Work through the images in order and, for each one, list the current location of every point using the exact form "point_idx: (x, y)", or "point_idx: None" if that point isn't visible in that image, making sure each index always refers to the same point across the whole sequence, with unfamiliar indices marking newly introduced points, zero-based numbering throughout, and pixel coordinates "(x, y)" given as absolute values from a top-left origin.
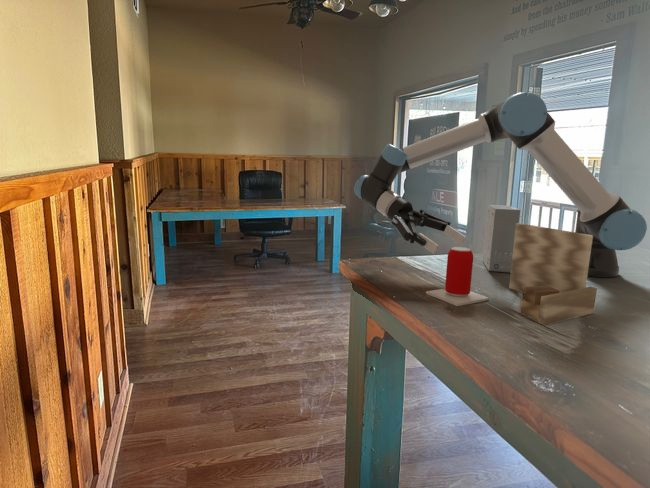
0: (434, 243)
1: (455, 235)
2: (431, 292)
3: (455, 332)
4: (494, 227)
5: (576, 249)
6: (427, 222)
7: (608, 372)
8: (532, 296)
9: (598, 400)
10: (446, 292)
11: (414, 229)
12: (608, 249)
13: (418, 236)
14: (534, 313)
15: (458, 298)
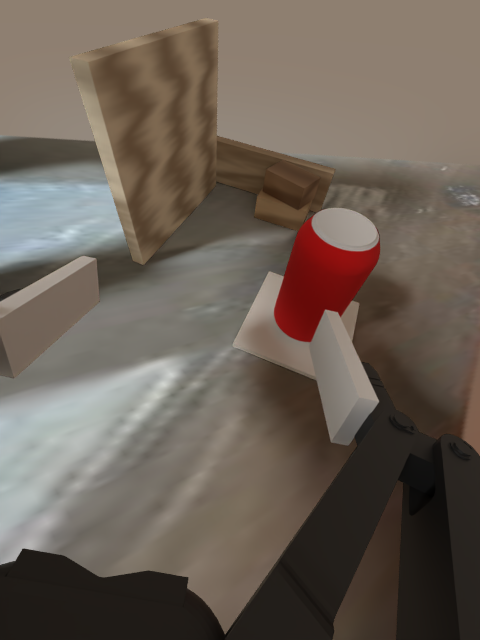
0: (338, 322)
1: (68, 300)
2: None
3: (461, 275)
4: None
5: (207, 72)
6: None
7: (393, 172)
8: (314, 189)
9: (450, 176)
10: (306, 344)
11: (381, 453)
12: None
13: (379, 403)
14: (308, 210)
15: None
